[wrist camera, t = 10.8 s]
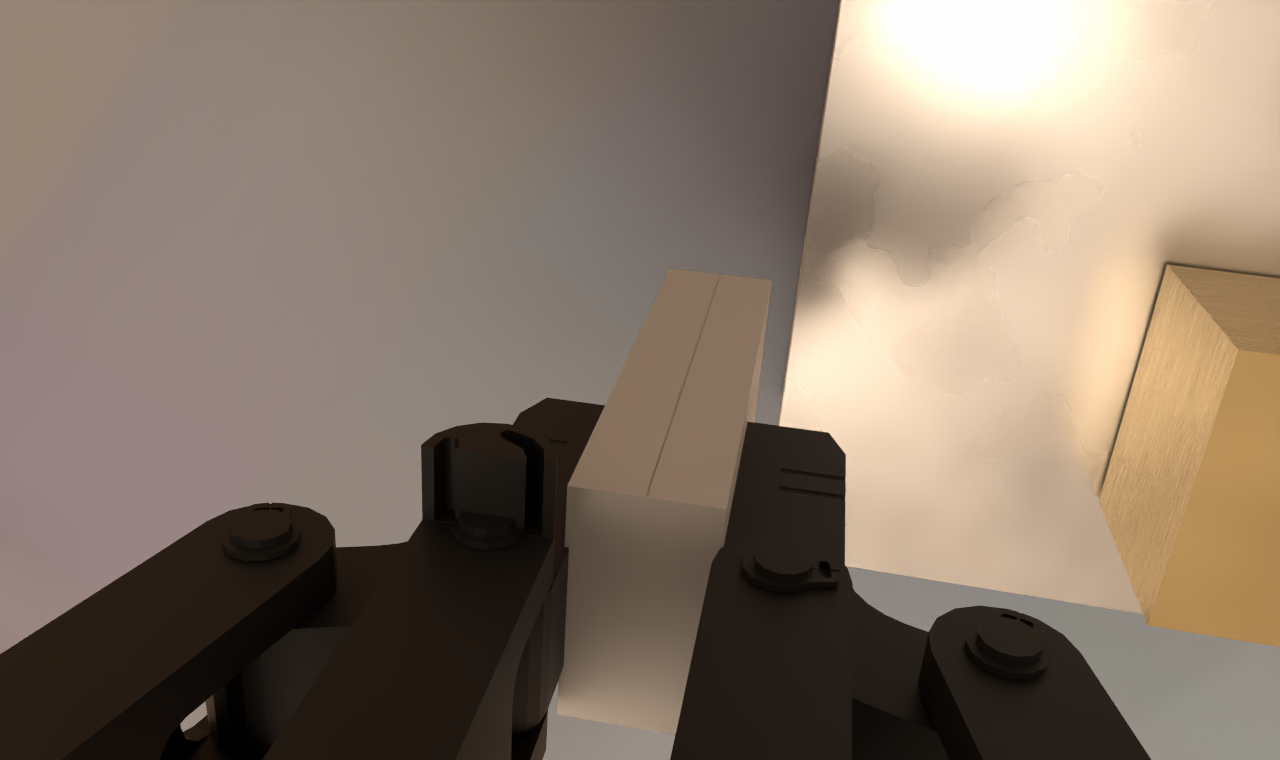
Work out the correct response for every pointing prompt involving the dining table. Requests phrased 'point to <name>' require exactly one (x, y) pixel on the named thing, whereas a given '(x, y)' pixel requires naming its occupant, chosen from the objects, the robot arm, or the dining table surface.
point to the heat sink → (1016, 262)
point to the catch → (1203, 459)
